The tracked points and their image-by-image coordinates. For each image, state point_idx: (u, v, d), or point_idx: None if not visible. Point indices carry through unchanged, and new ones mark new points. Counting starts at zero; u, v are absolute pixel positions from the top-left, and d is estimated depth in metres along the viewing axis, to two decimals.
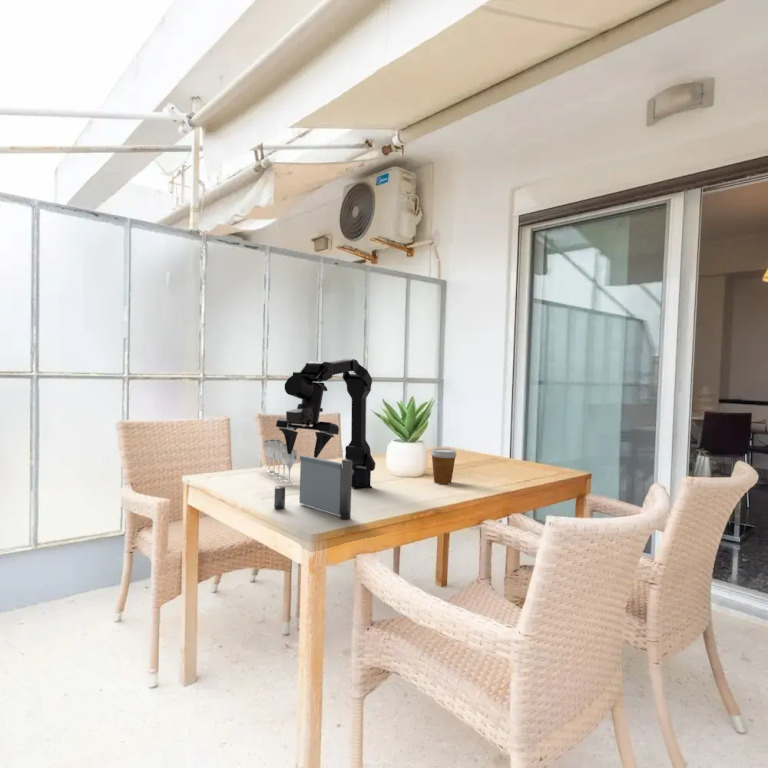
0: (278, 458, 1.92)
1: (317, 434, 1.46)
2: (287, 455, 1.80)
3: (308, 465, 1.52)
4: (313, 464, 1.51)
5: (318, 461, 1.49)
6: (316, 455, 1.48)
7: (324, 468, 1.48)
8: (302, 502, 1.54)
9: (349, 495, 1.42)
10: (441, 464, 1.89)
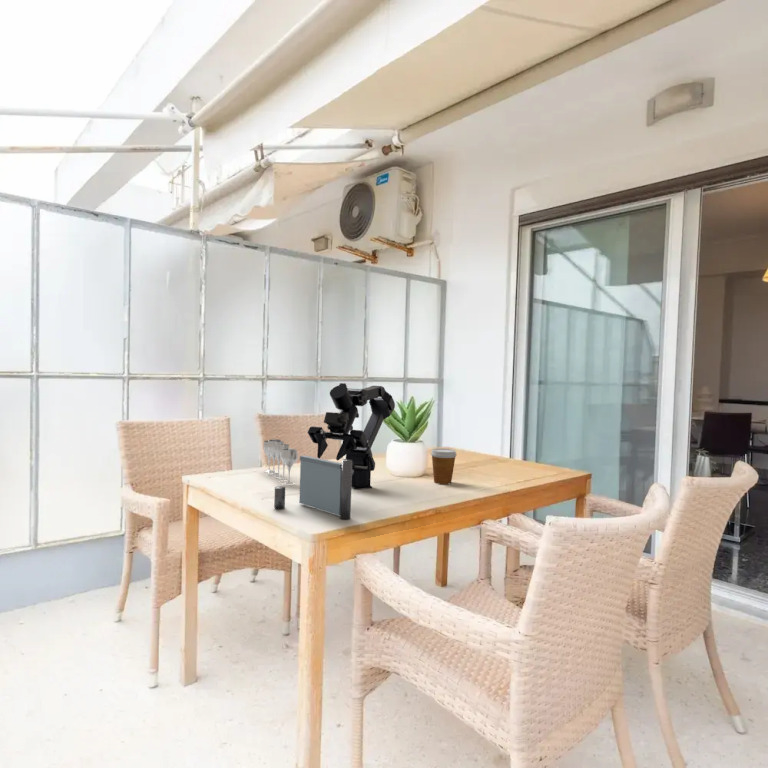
0: (278, 458, 1.92)
1: (344, 438, 1.59)
2: (287, 455, 1.80)
3: (308, 465, 1.52)
4: (313, 464, 1.51)
5: (318, 461, 1.49)
6: (338, 457, 1.57)
7: (324, 468, 1.48)
8: (302, 502, 1.54)
9: (349, 495, 1.42)
10: (441, 464, 1.89)
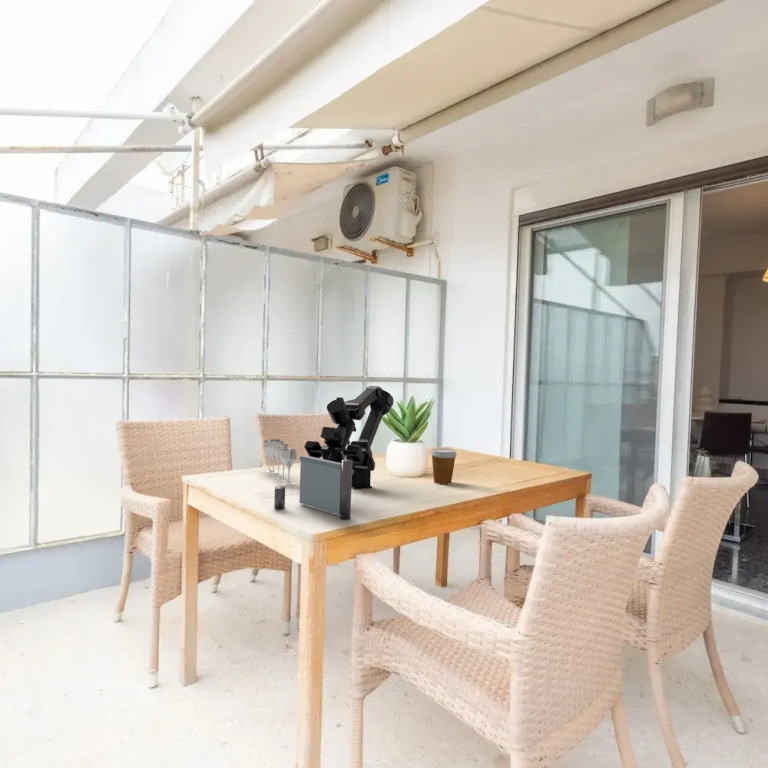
0: (278, 458, 1.92)
1: (332, 452, 1.58)
2: (286, 455, 1.80)
3: (308, 465, 1.52)
4: (313, 464, 1.51)
5: (318, 461, 1.49)
6: None
7: (324, 468, 1.48)
8: (302, 502, 1.54)
9: (349, 495, 1.42)
10: (441, 464, 1.89)
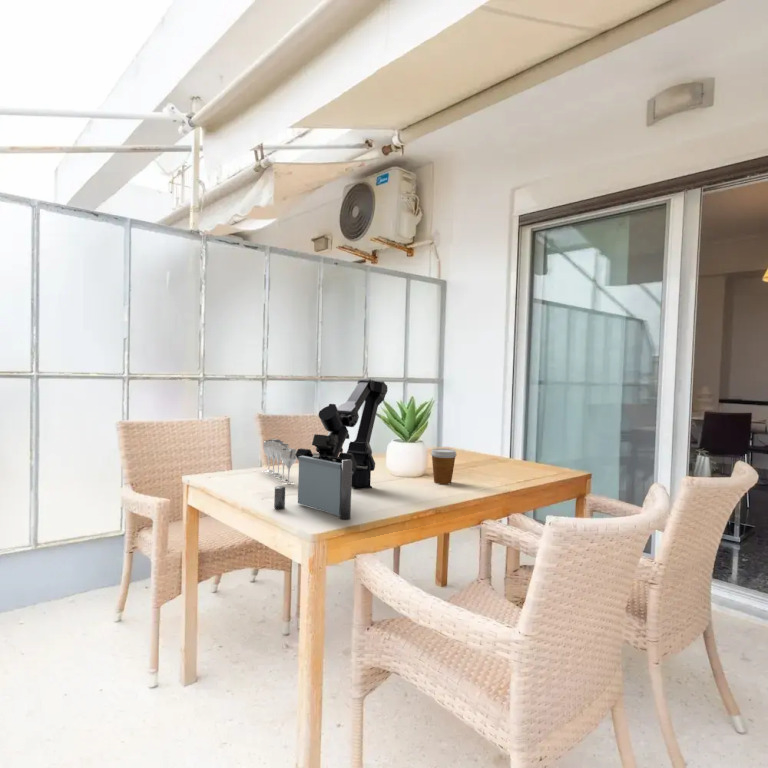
0: (277, 458, 1.92)
1: None
2: (286, 455, 1.80)
3: (307, 465, 1.52)
4: (312, 464, 1.51)
5: (317, 461, 1.49)
6: None
7: (323, 468, 1.47)
8: (300, 502, 1.54)
9: (349, 495, 1.42)
10: (441, 464, 1.89)
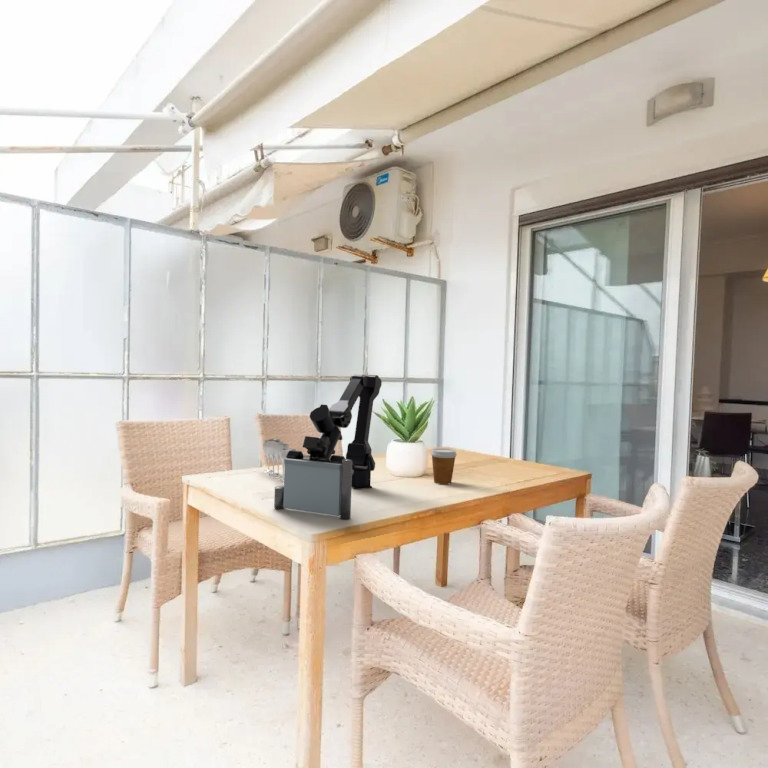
0: (277, 458, 1.92)
1: None
2: (286, 455, 1.80)
3: (295, 468, 1.47)
4: (302, 467, 1.47)
5: (310, 463, 1.45)
6: None
7: (318, 470, 1.45)
8: (287, 507, 1.49)
9: (349, 495, 1.42)
10: (441, 464, 1.89)
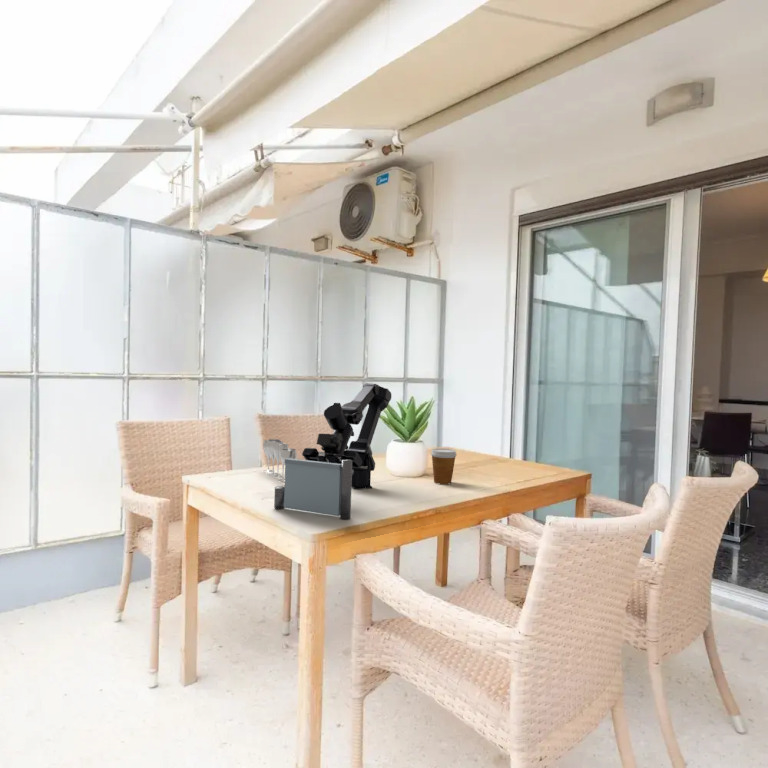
0: (277, 458, 1.92)
1: (330, 458, 1.57)
2: (286, 454, 1.80)
3: (296, 468, 1.48)
4: (303, 466, 1.47)
5: (310, 463, 1.46)
6: None
7: (318, 470, 1.45)
8: (288, 507, 1.49)
9: (349, 495, 1.42)
10: (441, 464, 1.89)
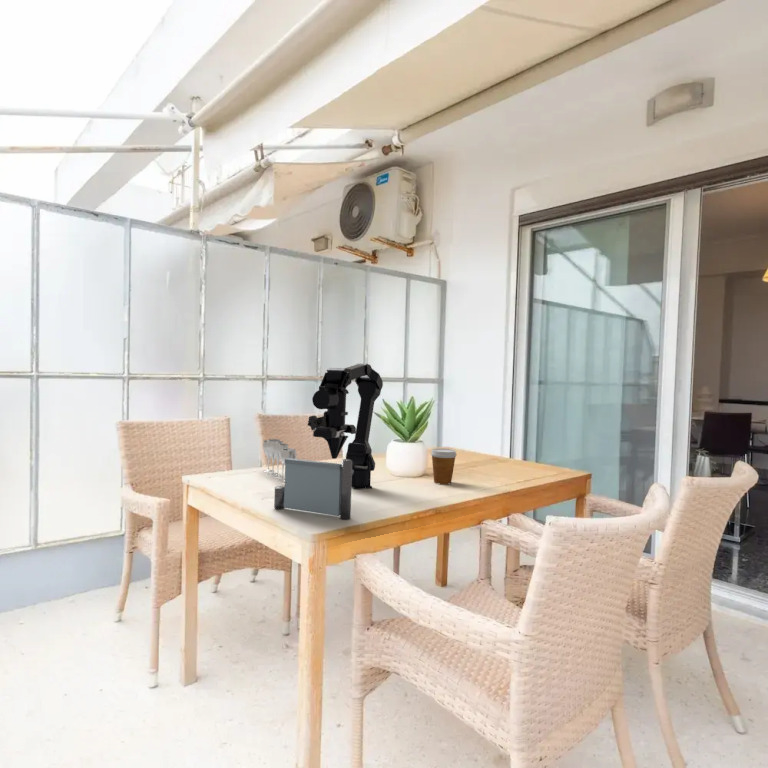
0: (277, 458, 1.92)
1: None
2: (286, 454, 1.80)
3: (296, 468, 1.48)
4: (303, 466, 1.47)
5: (310, 463, 1.46)
6: (333, 456, 1.62)
7: (318, 470, 1.45)
8: (288, 507, 1.49)
9: (349, 495, 1.42)
10: (441, 464, 1.89)
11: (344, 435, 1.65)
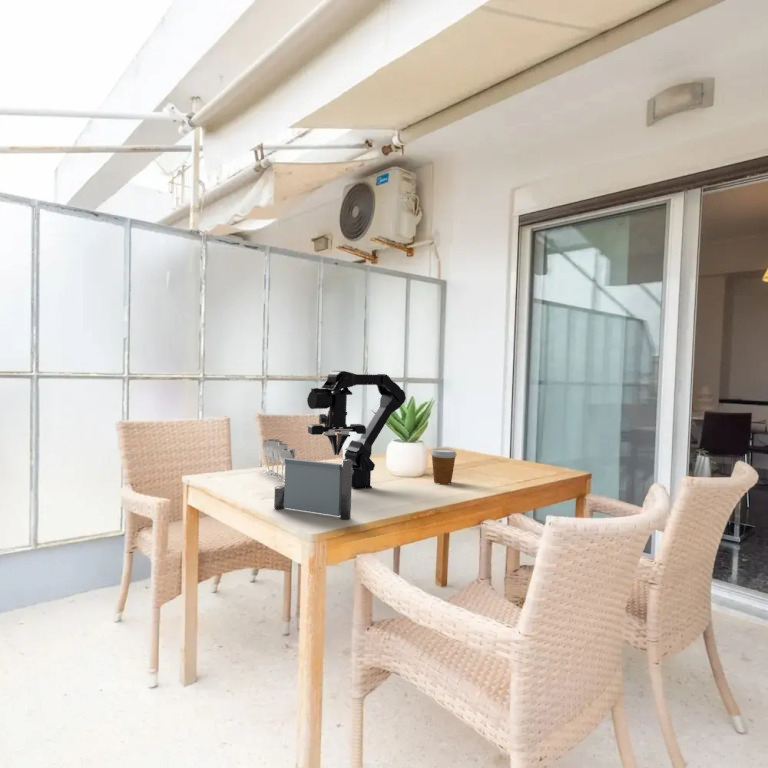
0: (277, 458, 1.92)
1: None
2: (285, 454, 1.80)
3: (296, 468, 1.48)
4: (303, 466, 1.47)
5: (310, 463, 1.46)
6: (334, 453, 1.74)
7: (318, 470, 1.45)
8: (288, 507, 1.49)
9: (349, 495, 1.42)
10: (441, 464, 1.89)
11: None
